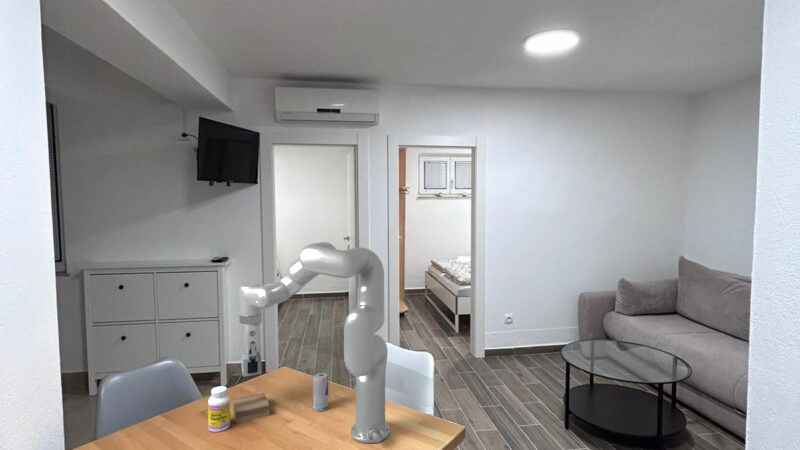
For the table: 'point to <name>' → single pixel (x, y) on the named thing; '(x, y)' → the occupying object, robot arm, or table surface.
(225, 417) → the supplement bottle
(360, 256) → the robot arm
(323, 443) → the table surface
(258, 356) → the slate cube
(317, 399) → the energy drink
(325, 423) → the table surface
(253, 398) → the walnut block
